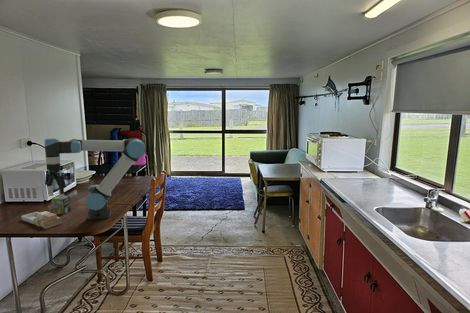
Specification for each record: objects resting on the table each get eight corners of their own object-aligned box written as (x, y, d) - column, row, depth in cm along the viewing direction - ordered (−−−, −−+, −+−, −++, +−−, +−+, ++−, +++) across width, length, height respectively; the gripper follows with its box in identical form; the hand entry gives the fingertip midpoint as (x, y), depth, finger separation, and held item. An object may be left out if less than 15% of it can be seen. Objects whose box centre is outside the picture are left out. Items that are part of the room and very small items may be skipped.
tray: (49, 219, 202) (49, 215, 201) (33, 224, 193) (33, 220, 193) (37, 215, 209) (36, 211, 209) (21, 220, 201) (21, 215, 200)
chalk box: (59, 210, 221) (57, 191, 219) (71, 210, 221) (70, 191, 219) (51, 214, 212) (50, 194, 210) (64, 214, 212) (62, 194, 210)
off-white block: (50, 216, 196) (50, 212, 195) (43, 219, 191) (42, 214, 191) (45, 215, 199) (45, 211, 198) (38, 217, 194) (37, 213, 194)
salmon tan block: (57, 218, 192) (56, 214, 192) (49, 221, 188) (48, 216, 188) (51, 217, 195) (51, 212, 195) (43, 219, 191) (43, 215, 190)
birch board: (61, 223, 195) (61, 217, 194) (46, 228, 186) (45, 222, 186) (49, 219, 202) (49, 214, 201) (34, 224, 193) (33, 218, 192)
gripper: (70, 164, 179) (73, 198, 182) (48, 160, 191) (51, 193, 194) (58, 166, 173) (61, 201, 176) (36, 162, 184) (39, 196, 188)
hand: (56, 197), depth 185 cm, fingers open, 11 cm apart
